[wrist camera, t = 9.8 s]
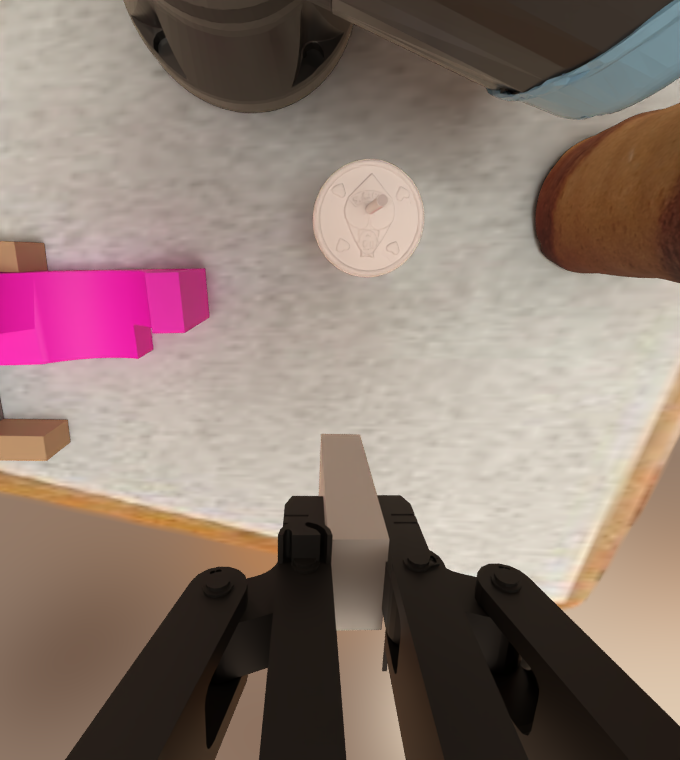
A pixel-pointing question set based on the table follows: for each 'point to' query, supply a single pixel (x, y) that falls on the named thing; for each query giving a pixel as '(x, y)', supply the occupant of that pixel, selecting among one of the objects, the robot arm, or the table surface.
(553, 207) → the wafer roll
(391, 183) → the smoothie
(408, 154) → the table surface
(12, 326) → the toy block
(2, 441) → the stop board
